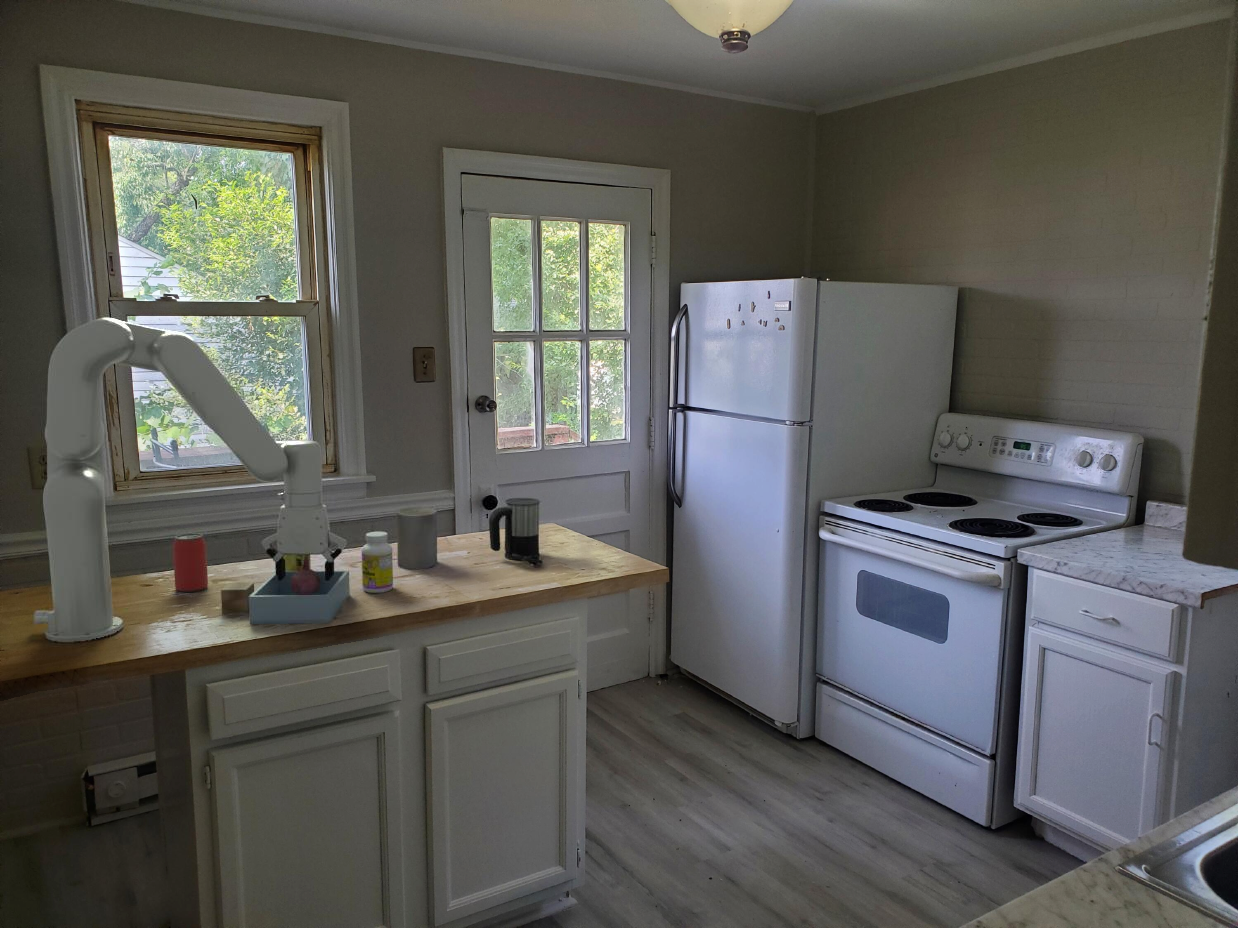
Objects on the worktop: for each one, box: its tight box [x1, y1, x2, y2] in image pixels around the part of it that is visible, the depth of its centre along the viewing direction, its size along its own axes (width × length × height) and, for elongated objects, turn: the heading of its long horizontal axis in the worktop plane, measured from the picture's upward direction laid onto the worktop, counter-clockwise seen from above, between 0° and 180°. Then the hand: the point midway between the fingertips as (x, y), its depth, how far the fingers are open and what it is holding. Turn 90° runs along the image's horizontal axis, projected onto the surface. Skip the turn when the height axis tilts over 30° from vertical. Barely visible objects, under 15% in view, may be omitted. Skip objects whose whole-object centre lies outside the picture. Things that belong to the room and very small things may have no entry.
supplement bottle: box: [361, 531, 394, 594], centre depth 196 cm, size 7×7×13 cm
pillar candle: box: [396, 505, 438, 570], centre depth 217 cm, size 10×10×15 cm
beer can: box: [172, 532, 209, 593], centre depth 194 cm, size 7×7×12 cm
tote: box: [248, 570, 351, 625], centre depth 182 cm, size 15×18×6 cm
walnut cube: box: [220, 582, 255, 614], centre depth 181 cm, size 5×5×5 cm
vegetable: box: [290, 555, 321, 595], centre depth 186 cm, size 6×6×10 cm
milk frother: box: [488, 497, 544, 567], centre depth 223 cm, size 14×16×15 cm
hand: (305, 578), depth 186 cm, fingers open, 9 cm apart
